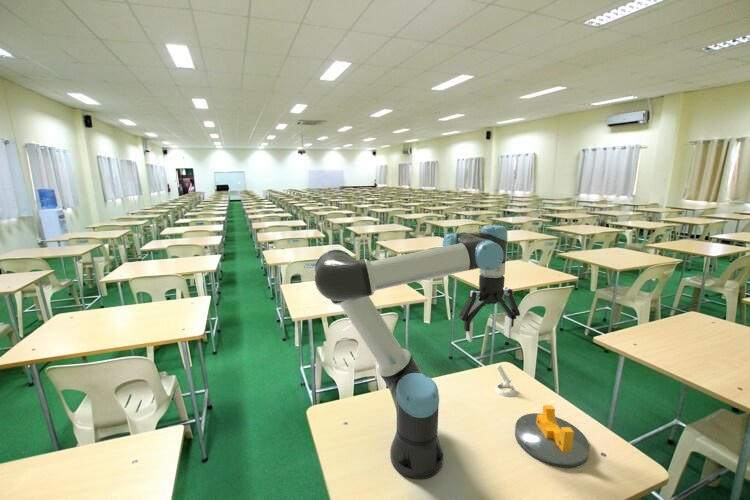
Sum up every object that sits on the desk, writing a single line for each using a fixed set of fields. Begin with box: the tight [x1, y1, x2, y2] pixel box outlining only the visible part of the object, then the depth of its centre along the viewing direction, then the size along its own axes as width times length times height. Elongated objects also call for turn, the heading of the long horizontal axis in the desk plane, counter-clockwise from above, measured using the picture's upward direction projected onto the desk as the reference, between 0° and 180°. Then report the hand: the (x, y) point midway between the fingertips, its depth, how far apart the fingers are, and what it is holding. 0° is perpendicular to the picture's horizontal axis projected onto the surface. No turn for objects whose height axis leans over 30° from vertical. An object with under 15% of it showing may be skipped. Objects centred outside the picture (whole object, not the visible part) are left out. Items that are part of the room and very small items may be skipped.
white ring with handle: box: [494, 363, 517, 398], centre depth 132 cm, size 8×12×7 cm
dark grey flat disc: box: [514, 412, 590, 469], centre depth 104 cm, size 20×20×2 cm
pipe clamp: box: [536, 404, 574, 452], centre depth 102 cm, size 12×4×6 cm, turn 1°
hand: (488, 338), depth 111 cm, fingers open, 13 cm apart
